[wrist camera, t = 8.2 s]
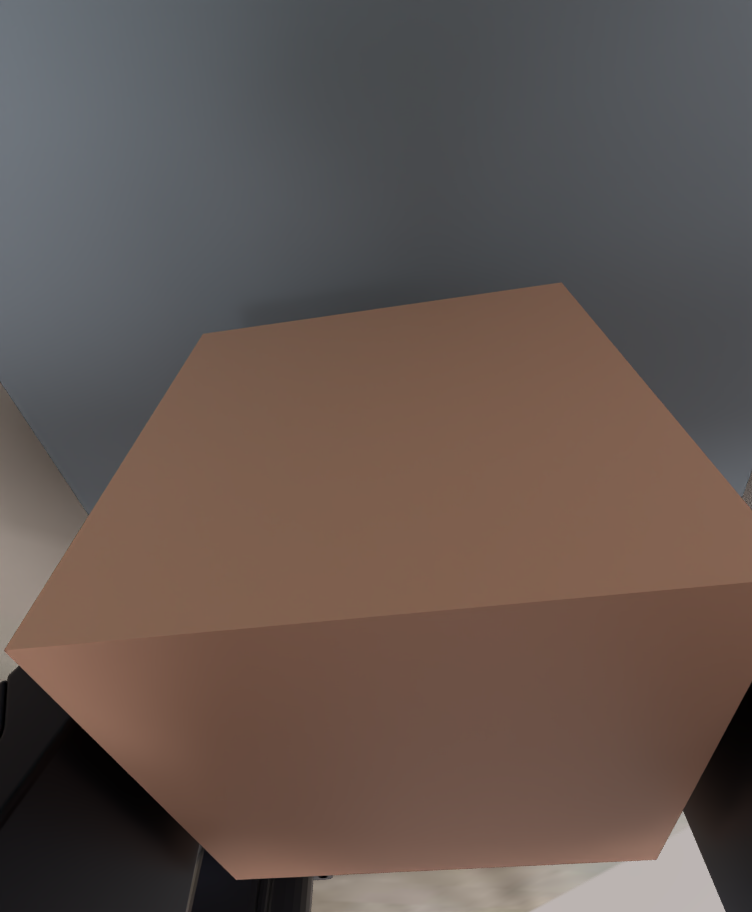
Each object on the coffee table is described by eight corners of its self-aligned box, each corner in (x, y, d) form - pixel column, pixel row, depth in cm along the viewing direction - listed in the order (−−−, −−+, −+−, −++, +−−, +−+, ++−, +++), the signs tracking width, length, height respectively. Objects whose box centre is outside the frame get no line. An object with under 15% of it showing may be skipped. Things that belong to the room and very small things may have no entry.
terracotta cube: (544, 540, 10) (657, 860, 6) (289, 566, 10) (236, 880, 6) (561, 282, 7) (805, 577, 3) (202, 333, 7) (4, 649, 3)
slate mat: (691, 585, 14) (702, 604, 13) (184, 631, 15) (178, 650, 15) (982, -276, 5) (1041, -309, 5) (-219, -13, 7) (-264, -17, 6)
